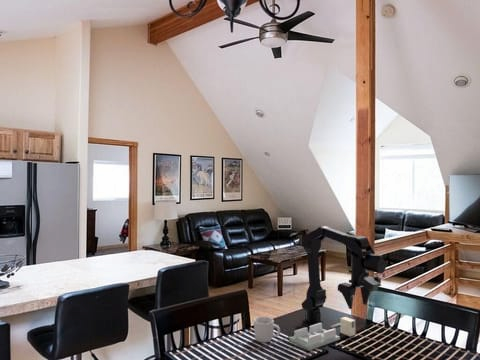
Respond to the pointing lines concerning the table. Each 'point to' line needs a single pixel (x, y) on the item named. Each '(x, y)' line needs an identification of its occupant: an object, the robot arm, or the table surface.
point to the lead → (335, 325)
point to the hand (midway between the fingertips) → (357, 306)
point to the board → (314, 336)
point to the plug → (347, 326)
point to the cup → (265, 329)
